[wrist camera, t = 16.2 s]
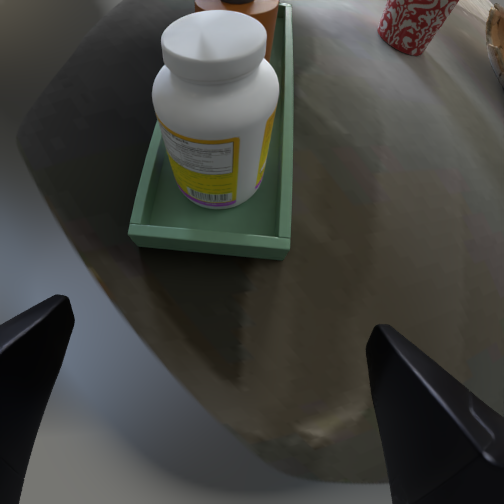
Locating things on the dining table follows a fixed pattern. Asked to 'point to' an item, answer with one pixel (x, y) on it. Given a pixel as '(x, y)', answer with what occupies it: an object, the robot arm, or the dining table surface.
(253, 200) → the tray
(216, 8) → the amber bottle
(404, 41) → the mug
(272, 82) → the supplement bottle
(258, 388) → the dining table surface
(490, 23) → the ceramic bowl
